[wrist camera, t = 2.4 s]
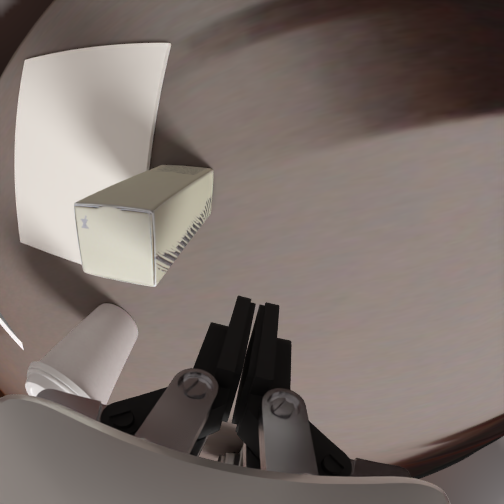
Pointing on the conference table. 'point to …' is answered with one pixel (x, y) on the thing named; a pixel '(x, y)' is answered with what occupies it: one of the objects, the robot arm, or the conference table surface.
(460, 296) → the conference table surface
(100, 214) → the box
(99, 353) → the coffee cup
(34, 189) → the mat
